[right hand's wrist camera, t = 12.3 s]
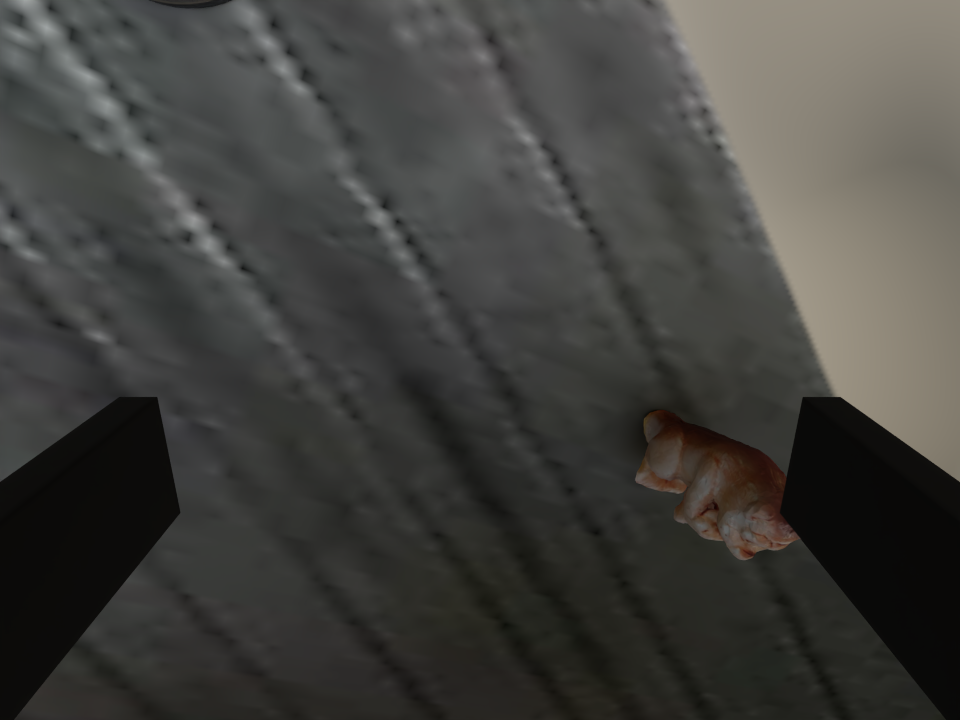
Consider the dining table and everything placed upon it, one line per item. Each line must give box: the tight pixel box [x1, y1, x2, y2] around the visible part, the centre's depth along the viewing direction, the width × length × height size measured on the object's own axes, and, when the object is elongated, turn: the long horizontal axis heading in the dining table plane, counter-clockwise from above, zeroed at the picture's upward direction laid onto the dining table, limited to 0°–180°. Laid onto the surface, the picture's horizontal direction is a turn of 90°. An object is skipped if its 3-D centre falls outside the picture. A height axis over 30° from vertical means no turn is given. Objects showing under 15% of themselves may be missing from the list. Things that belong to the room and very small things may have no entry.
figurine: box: [635, 410, 800, 560], centre depth 39 cm, size 6×8×15 cm
